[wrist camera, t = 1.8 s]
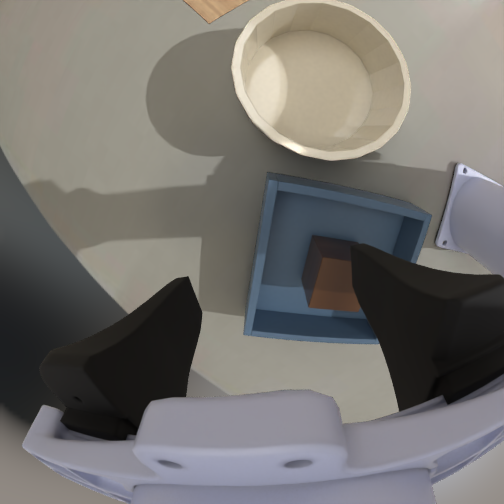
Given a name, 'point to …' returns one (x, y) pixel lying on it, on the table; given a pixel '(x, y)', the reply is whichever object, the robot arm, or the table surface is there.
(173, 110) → the table surface
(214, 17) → the architectural model on board
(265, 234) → the tub
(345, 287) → the walnut block
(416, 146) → the table surface
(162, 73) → the table surface
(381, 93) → the cup
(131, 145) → the table surface
